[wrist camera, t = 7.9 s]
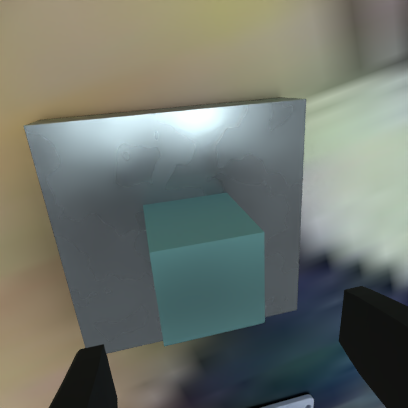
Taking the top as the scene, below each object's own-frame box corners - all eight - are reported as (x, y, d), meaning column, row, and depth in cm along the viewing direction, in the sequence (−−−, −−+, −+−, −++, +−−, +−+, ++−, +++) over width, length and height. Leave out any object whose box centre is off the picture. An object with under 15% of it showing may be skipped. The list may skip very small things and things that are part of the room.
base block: (278, 285, 21) (296, 309, 19) (93, 324, 19) (88, 357, 16) (281, 97, 17) (306, 99, 14) (40, 119, 14) (23, 126, 12)
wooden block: (230, 263, 16) (264, 322, 12) (154, 278, 16) (164, 346, 12) (226, 192, 15) (264, 232, 11) (143, 205, 14) (149, 252, 10)
